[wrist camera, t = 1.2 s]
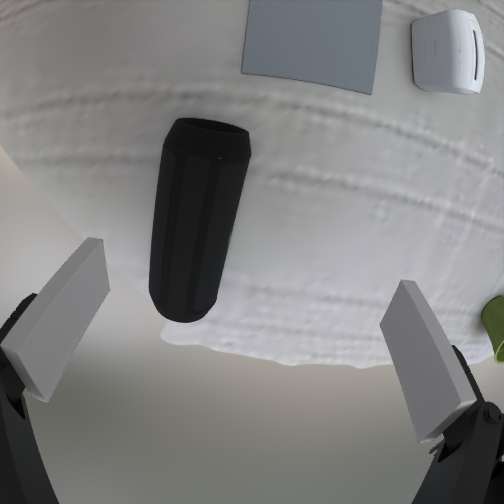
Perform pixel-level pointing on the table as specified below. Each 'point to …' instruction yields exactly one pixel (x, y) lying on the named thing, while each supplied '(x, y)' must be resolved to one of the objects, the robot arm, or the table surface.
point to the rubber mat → (314, 41)
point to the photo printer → (448, 53)
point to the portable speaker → (195, 214)
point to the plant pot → (495, 326)
